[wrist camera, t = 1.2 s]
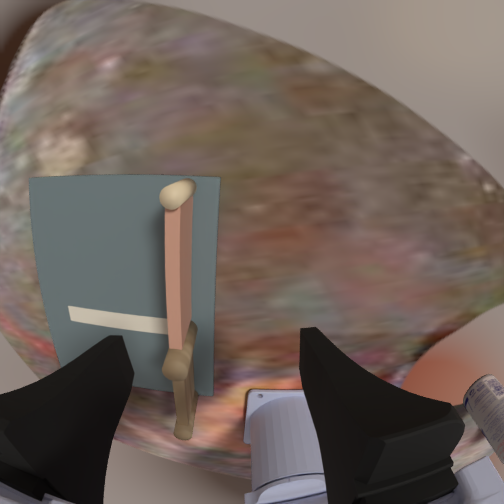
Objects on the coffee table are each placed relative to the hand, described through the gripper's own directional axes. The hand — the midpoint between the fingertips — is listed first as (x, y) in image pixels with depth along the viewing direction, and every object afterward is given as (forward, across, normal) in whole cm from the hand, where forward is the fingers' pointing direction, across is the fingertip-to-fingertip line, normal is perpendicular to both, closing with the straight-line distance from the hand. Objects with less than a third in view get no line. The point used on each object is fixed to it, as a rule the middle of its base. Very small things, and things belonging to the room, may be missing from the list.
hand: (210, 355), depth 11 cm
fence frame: (+9, +4, +8) cm, 13 cm away
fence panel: (+9, +2, -1) cm, 10 cm away
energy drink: (+10, -29, +19) cm, 36 cm away
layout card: (+10, +8, +2) cm, 13 cm away
